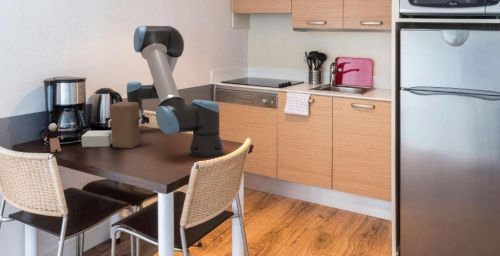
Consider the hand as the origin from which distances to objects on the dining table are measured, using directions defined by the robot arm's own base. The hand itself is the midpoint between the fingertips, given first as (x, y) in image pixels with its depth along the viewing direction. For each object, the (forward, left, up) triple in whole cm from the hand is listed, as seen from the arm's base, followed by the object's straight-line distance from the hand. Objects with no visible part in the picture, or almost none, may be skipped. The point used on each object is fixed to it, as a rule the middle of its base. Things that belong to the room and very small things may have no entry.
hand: (124, 124), depth 203 cm
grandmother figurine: (-5, +30, -11) cm, 32 cm away
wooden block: (+3, 0, -11) cm, 12 cm away
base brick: (+8, +14, -11) cm, 20 cm away
